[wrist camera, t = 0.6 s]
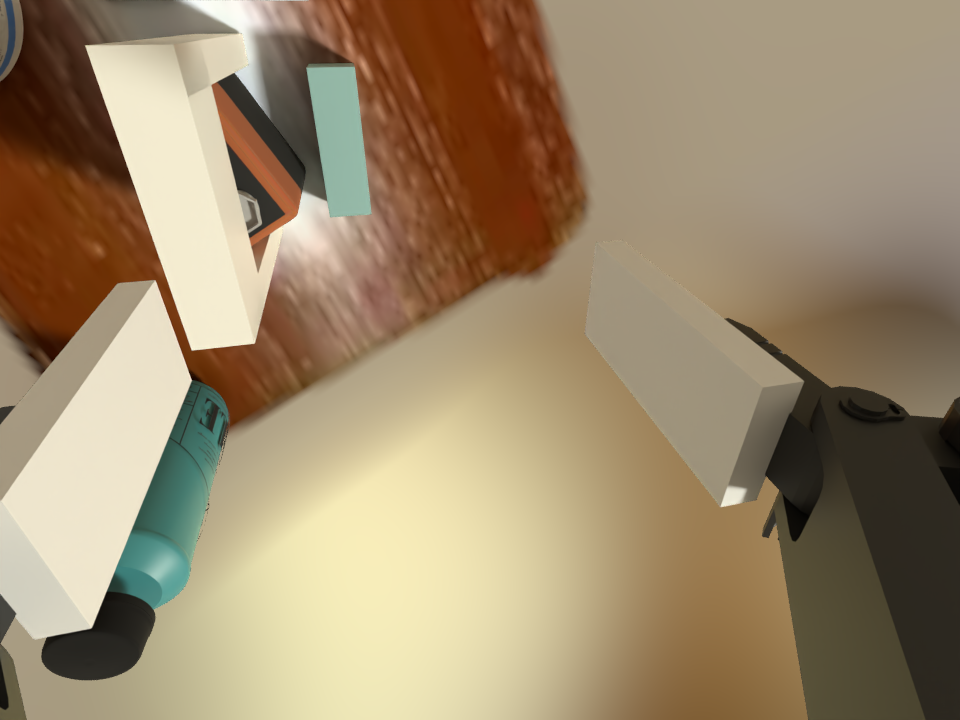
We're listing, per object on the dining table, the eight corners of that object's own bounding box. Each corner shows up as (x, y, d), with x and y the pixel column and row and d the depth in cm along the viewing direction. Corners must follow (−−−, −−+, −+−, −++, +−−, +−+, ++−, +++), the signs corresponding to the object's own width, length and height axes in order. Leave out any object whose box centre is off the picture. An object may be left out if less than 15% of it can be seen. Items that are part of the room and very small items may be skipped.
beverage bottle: (118, 394, 39) (-44, 673, 22) (189, 346, 38) (76, 597, 21) (189, 446, 42) (96, 717, 26) (255, 403, 41) (203, 654, 25)
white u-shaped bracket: (243, 232, 34) (192, 350, 22) (192, 34, 28) (85, 45, 16) (283, 229, 35) (254, 343, 23) (242, 33, 29) (173, 44, 17)
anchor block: (330, 203, 35) (329, 217, 32) (308, 63, 30) (306, 67, 28) (369, 200, 35) (371, 214, 33) (353, 63, 31) (354, 66, 28)
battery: (254, 208, 34) (227, 269, 26) (168, 108, 30) (105, 141, 22) (310, 170, 33) (301, 220, 25) (230, 64, 30) (189, 81, 21)
